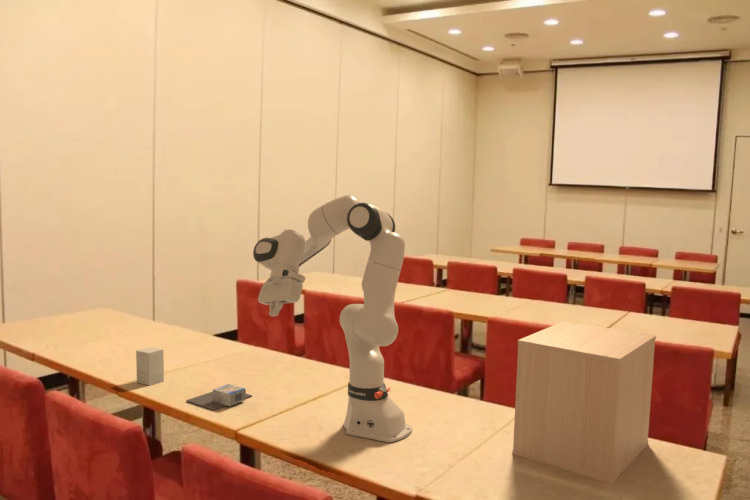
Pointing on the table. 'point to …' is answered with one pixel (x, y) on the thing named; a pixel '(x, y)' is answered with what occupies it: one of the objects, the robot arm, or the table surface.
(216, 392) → the medicine box
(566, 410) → the cabinet
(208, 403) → the mat
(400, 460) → the table surface
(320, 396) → the table surface
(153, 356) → the supplement box
